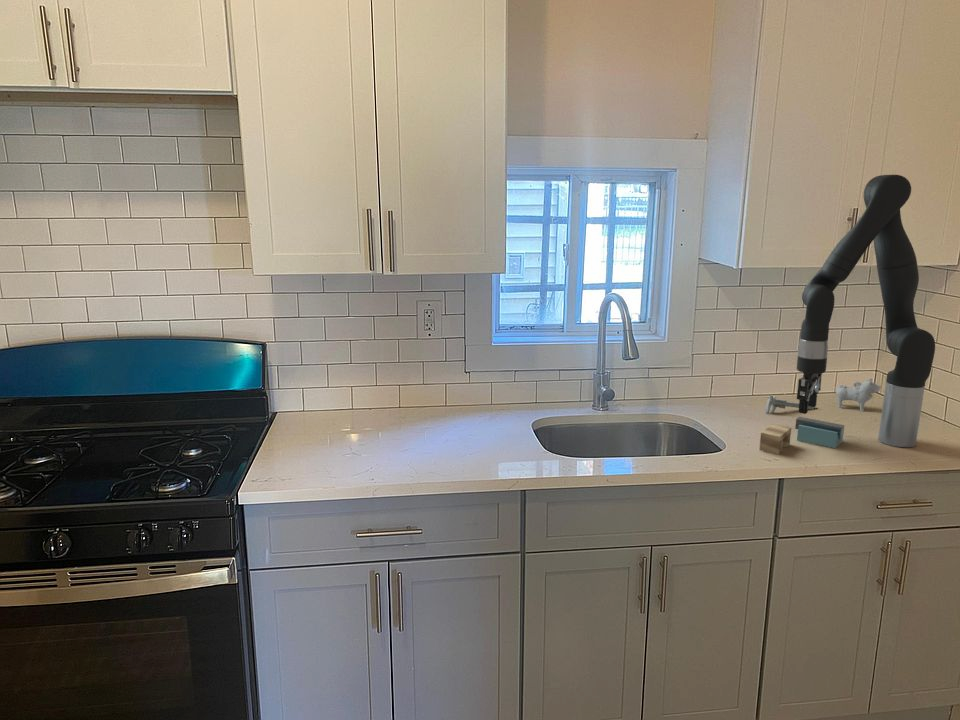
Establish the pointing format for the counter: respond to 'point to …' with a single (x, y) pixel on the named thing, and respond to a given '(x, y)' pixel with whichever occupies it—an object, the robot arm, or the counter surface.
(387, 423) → the counter surface
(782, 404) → the caliper
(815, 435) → the block
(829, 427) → the metal bar
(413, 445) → the counter surface
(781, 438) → the bore block
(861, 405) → the dog figurine
